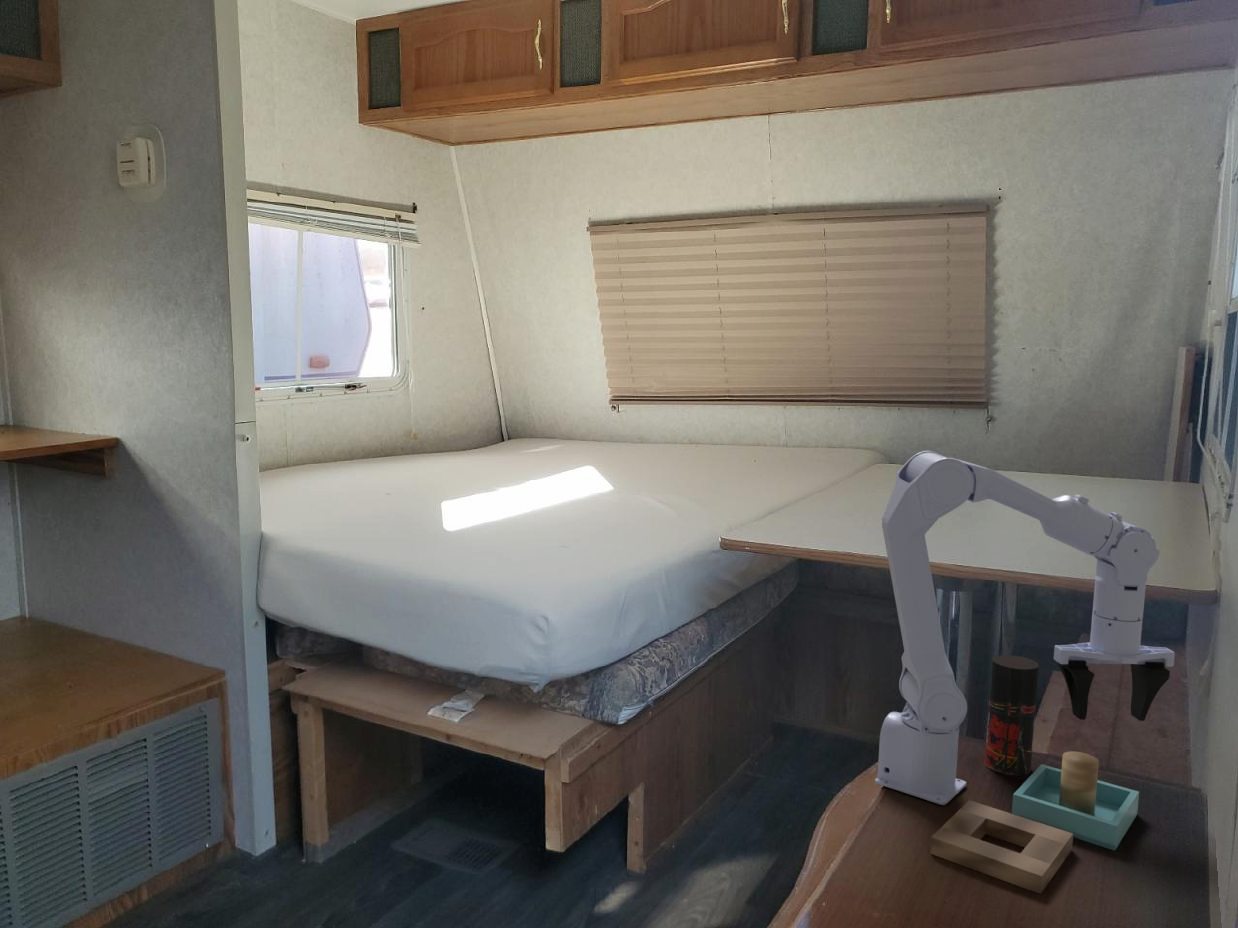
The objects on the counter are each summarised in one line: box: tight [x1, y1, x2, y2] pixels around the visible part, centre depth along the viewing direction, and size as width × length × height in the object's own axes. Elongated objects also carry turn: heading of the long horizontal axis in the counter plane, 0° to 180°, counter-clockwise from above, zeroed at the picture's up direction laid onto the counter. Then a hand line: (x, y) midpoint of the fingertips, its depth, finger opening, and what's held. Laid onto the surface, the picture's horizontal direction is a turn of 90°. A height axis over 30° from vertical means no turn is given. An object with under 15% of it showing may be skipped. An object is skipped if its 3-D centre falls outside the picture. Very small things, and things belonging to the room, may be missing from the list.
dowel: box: [1059, 750, 1100, 816], centre depth 116 cm, size 4×4×7 cm
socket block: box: [929, 800, 1074, 895], centre depth 108 cm, size 12×12×2 cm
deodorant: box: [984, 654, 1040, 777], centre depth 130 cm, size 6×6×15 cm
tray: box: [1011, 763, 1140, 852], centre depth 117 cm, size 12×12×3 cm
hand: (1108, 717), depth 122 cm, fingers open, 7 cm apart
